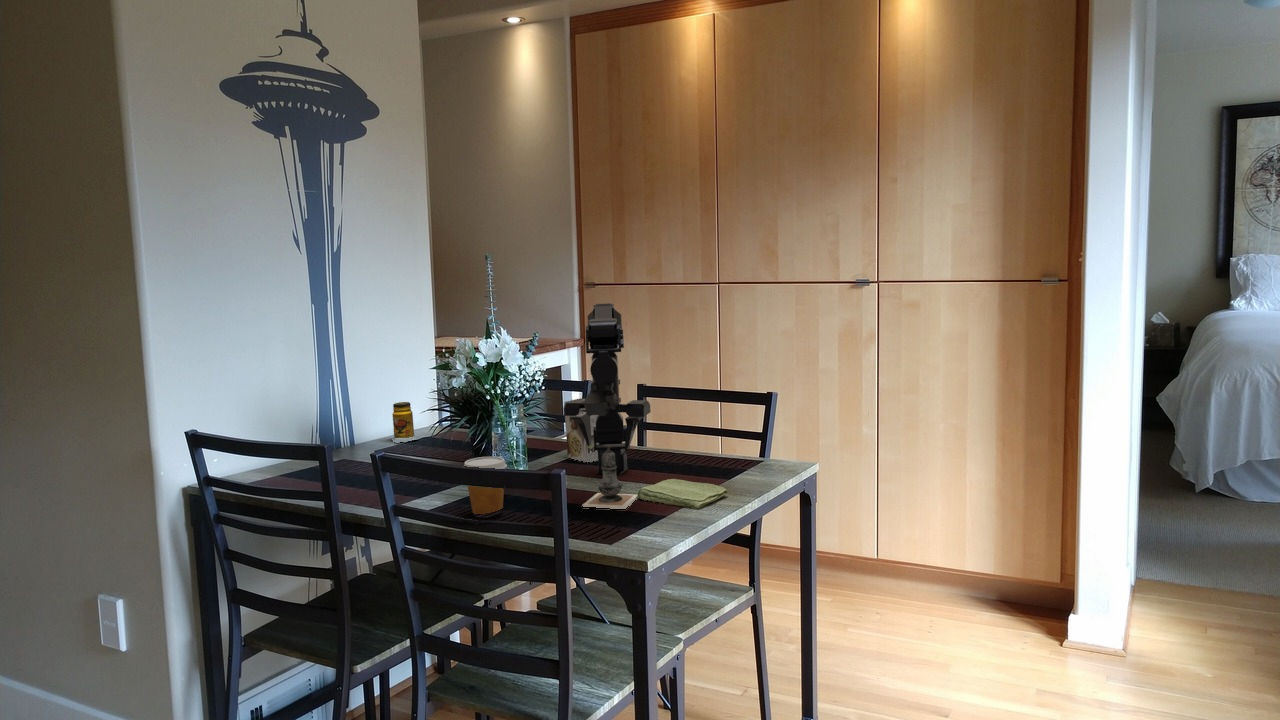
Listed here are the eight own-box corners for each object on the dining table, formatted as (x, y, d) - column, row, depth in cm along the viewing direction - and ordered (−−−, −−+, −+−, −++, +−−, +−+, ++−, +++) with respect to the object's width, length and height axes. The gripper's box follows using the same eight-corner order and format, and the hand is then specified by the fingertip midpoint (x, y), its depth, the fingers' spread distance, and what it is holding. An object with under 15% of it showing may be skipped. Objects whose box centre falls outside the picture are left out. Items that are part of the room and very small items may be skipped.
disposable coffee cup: (513, 507, 203) (510, 455, 202) (505, 520, 194) (502, 465, 192) (471, 509, 203) (467, 456, 202) (461, 521, 194) (457, 467, 192)
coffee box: (605, 459, 246) (603, 400, 245) (587, 463, 242) (584, 404, 240) (584, 454, 253) (581, 397, 251) (566, 458, 249) (563, 400, 247)
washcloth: (700, 512, 195) (699, 497, 194) (634, 501, 205) (633, 487, 205) (731, 497, 205) (731, 483, 205) (667, 488, 216) (667, 475, 215)
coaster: (582, 508, 200) (582, 504, 200) (597, 495, 210) (597, 492, 210) (625, 510, 197) (625, 506, 197) (638, 497, 207) (638, 494, 207)
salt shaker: (620, 503, 200) (618, 449, 199) (594, 502, 201) (592, 449, 200) (625, 495, 206) (623, 443, 204) (600, 495, 207) (598, 443, 205)
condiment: (395, 444, 278) (392, 405, 277) (390, 439, 286) (387, 402, 285) (419, 441, 282) (416, 403, 280) (413, 436, 289) (410, 399, 288)
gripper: (552, 382, 195) (555, 453, 197) (634, 382, 190) (637, 455, 192) (571, 374, 206) (574, 442, 208) (649, 375, 200) (652, 444, 202)
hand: (608, 446), depth 202 cm, fingers open, 9 cm apart
